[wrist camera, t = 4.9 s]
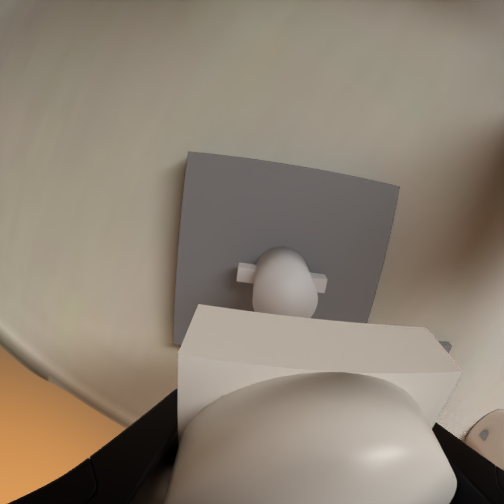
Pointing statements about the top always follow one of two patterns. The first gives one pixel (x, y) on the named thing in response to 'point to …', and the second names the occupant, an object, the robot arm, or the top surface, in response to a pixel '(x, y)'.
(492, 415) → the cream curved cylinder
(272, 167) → the plinth
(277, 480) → the cream domed square block
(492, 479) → the robot arm
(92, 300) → the top surface
